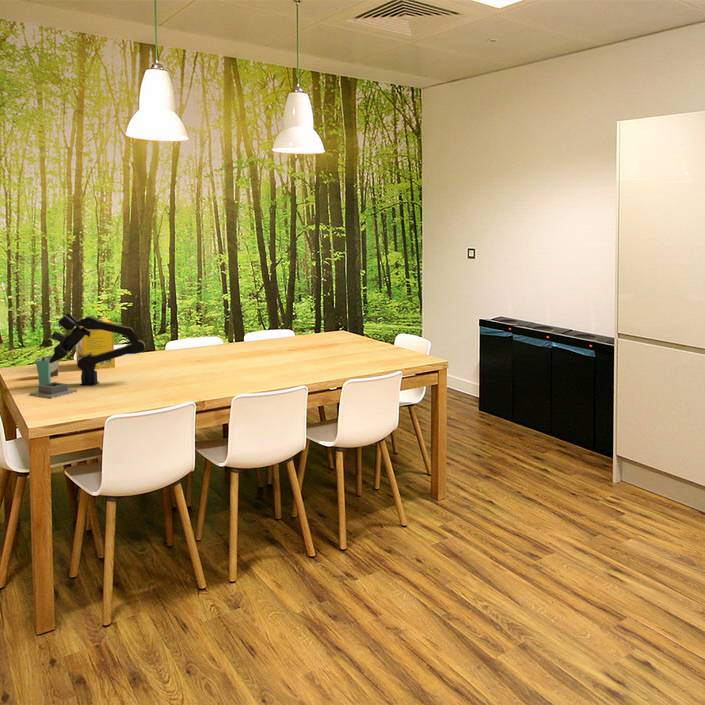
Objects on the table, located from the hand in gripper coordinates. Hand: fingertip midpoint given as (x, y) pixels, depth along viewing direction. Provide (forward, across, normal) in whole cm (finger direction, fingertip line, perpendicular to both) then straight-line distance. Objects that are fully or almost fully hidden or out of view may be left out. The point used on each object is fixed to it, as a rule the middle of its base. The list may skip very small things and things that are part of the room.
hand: (51, 360), depth 328 cm
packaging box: (0, -44, +18) cm, 47 cm away
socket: (+6, +16, +11) cm, 21 cm away
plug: (+11, 0, +6) cm, 13 cm away
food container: (+14, -22, +3) cm, 26 cm away
